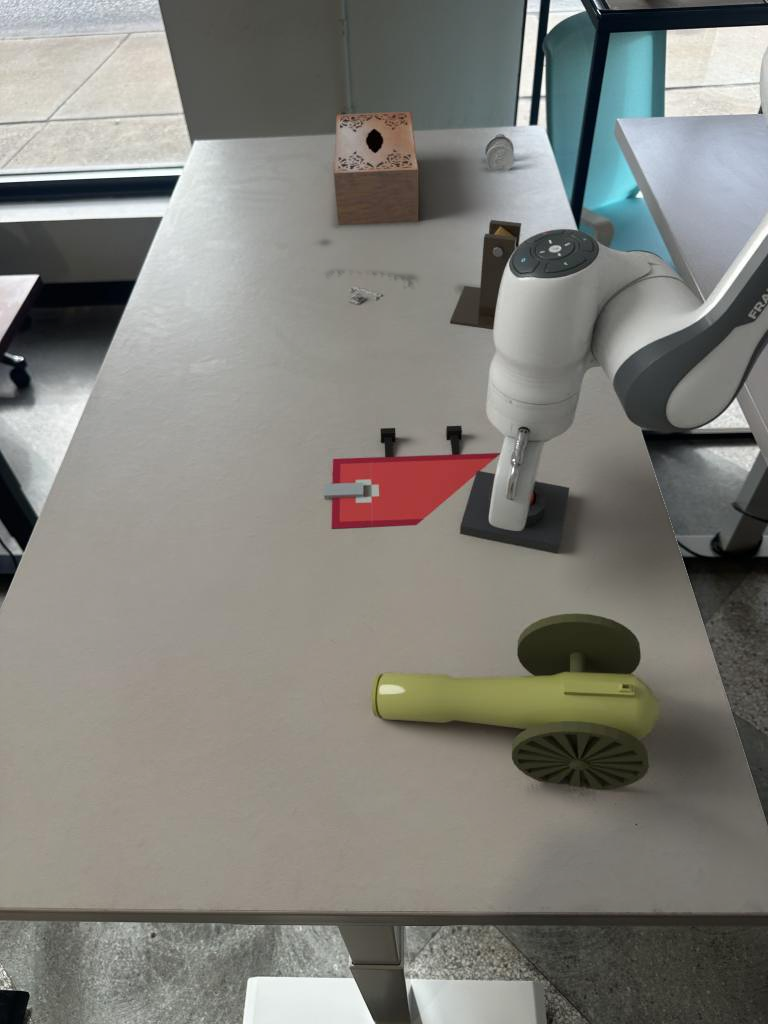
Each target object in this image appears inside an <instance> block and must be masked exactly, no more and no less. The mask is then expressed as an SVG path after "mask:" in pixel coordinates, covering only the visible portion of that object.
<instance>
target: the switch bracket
mask: <svg viewBox="0 0 768 1024" xmlns="http://www.w3.org/2000/svg"><path fill="white" fill-rule="evenodd" d="M500 226H501V227H502V228H503V229H505V230H506V231H507V232H509V233H510V234H511V235H513V236H514V237H511V236H503V235H494V234H495V232H496V231H497V230H498V229H499V227H500ZM521 229H522V223H521V222H513V221H506V220H495V219H490V221H489V224H488V233H484V236H483V243H482V244H483V246H482V260H481V273H480V286H479V287H476V286H469V285H464V286H463V288H462V291H461V294H460V296H459V298H458V300H457V303H456V306H455V307H454V311H453V312H452V315H451V317H450V320H449V324H451V325H457V326H465V327H472V328H479V329H486V330H492V331H493V328H494V319H495V312H496V305H497V299H498V293H499V288H500V284H501V280H502V276H503V273H504V270H505V267H506V265H507V262H508V260H509V258H510V257H511V255H512V254H513V252H514V251H515V247H518V246H519V245H520V242H521V241H520V240H521V238H520V237H521V231H522V230H521Z"/></svg>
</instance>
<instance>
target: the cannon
mask: <svg viewBox="0 0 768 1024" xmlns="http://www.w3.org/2000/svg"><path fill="white" fill-rule="evenodd" d="M516 651H517V652H516V653H517V658H518V661H519V663H520V664H521V666H522V667H523V668H524V669H525V670H526V671H527V672H528V673H529V674H530V675H516V676H515V675H513V676H512V675H511V676H509V675H508V676H478V677H477V676H475V677H474V676H473V677H470V676H469V677H454V676H451V675H449V674H445V673H443V674H442V673H441V674H440V673H417V672H416V673H415V672H392V671H391V672H389V671H387V672H384V673H377V674H376V675H375V676H374V678H373V682H372V687H371V697H370V698H371V702H370V703H371V710H372V713H373V716H374V717H375V718H382V719H383V720H390V721H407V722H424V723H439V724H440V723H441V724H445V723H449V722H453V721H456V722H464V723H473V724H474V723H475V724H481V725H488V726H489V725H490V726H496V727H497V726H498V727H505V728H513V729H519V730H520V729H521V730H522V731H520V733H519V734H517V735H516V736H515V737H514V739H513V741H512V743H511V745H512V747H511V760H512V762H513V764H514V766H515V767H516V768H517V769H518V771H520V772H522V773H523V774H524V775H525V776H528V777H529V778H531V779H533V780H536V781H537V782H542V783H543V782H544V783H549V784H556V785H559V784H560V783H561V782H562V781H563V779H565V777H568V786H570V787H577V788H581V780H585V789H589V790H590V789H591V790H596V791H606V790H613V789H619V788H622V787H626V786H630V785H631V784H634V783H637V782H638V781H639V780H641V779H643V778H644V777H645V775H646V774H647V773H648V771H649V768H650V763H649V754H648V749H647V748H646V746H645V744H644V743H642V742H641V740H643V739H644V738H645V737H646V736H647V735H648V734H650V732H652V730H653V728H654V726H655V725H656V723H657V722H658V720H659V719H660V714H661V713H660V711H661V710H660V700H659V699H658V697H657V696H656V695H655V693H654V692H653V690H652V688H651V687H650V686H649V684H648V683H647V682H646V681H644V679H643V678H642V677H640V676H637V675H635V674H633V673H634V672H635V671H636V670H637V669H638V667H639V665H640V664H641V663H640V662H641V659H642V656H641V655H642V654H641V645H640V641H639V640H638V637H637V635H636V634H635V633H634V632H633V631H632V630H631V629H630V628H628V627H627V626H625V625H624V624H622V623H620V622H617V621H616V620H613V619H611V618H607V617H605V616H601V615H596V614H589V613H562V614H556V615H550V616H548V617H544V618H541V619H538V620H537V621H534V622H533V623H531V624H530V625H528V626H527V627H525V628H524V629H523V630H522V632H521V633H520V634H519V637H518V640H517V649H516Z"/></svg>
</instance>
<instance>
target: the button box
mask: <svg viewBox="0 0 768 1024" xmlns="http://www.w3.org/2000/svg"><path fill="white" fill-rule="evenodd" d="M494 478H495V473H493V472H488V471H482V470H481V471H477V472H476V475H475V476H474V479H473V481H472V482H473V483H472V486H471V489H470V493H469V495H468V499H467V502H466V506H465V509H464V512H463V515H462V519H461V522H460V526H459V534H460V535H464V536H467V537H473V538H478V539H482V540H487V541H492V542H498V543H503V544H507V545H512V546H517V547H521V548H527V549H532V550H536V551H541V552H547V553H550V554H551V553H552V554H554V555H555V554H556V555H557V554H558V551H559V547H560V541H561V537H562V531H563V526H564V520H565V515H566V510H567V509H566V508H567V503H568V498H569V493H570V487H568V486H563V485H557V484H552V483H546V482H541V481H537V480H535V485H534V489H533V493H534V499H533V505H532V506H531V507H529V511H528V516H527V520H526V524H525V527H524V529H523V530H521V531H512V530H506V529H502V528H498V527H495V526H493V525H491V524H490V523H489V511H490V503H491V496H492V490H493V483H494Z"/></svg>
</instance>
